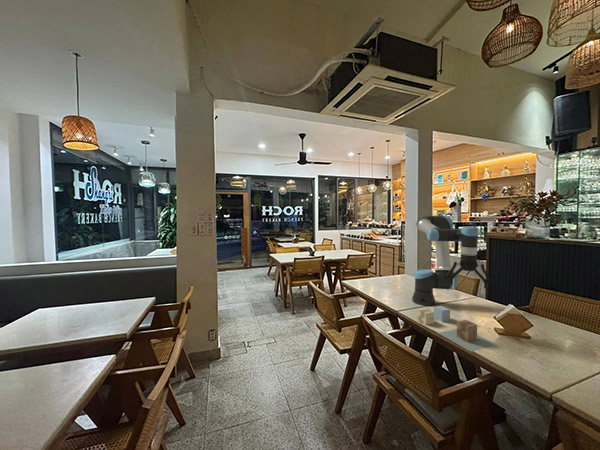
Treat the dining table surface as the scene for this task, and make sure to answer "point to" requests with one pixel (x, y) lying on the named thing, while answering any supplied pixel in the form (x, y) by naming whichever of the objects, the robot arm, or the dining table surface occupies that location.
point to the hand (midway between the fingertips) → (467, 291)
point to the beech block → (425, 316)
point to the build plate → (470, 346)
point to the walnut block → (467, 331)
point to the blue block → (441, 314)
